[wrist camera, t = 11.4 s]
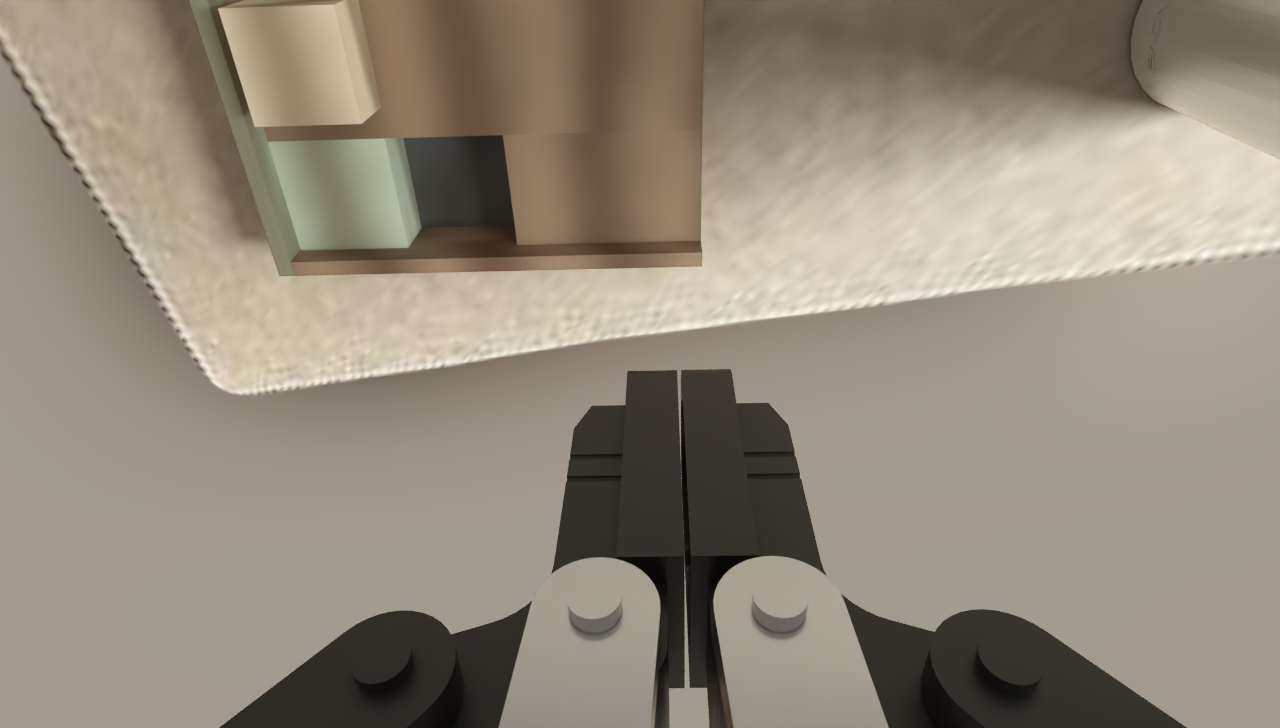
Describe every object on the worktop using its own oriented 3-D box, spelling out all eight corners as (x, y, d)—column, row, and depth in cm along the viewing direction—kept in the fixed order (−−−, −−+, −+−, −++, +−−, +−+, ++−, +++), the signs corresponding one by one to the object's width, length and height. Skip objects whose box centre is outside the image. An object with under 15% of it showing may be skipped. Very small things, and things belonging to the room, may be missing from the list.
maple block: (357, -6, 34) (333, 4, 32) (381, 106, 37) (361, 123, 34) (249, -2, 34) (218, 8, 32) (281, 109, 37) (254, 127, 35)
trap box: (702, -243, 32) (709, -258, 28) (697, 232, 44) (701, 266, 40) (175, -220, 32) (112, -232, 29) (311, 241, 44) (279, 276, 41)
